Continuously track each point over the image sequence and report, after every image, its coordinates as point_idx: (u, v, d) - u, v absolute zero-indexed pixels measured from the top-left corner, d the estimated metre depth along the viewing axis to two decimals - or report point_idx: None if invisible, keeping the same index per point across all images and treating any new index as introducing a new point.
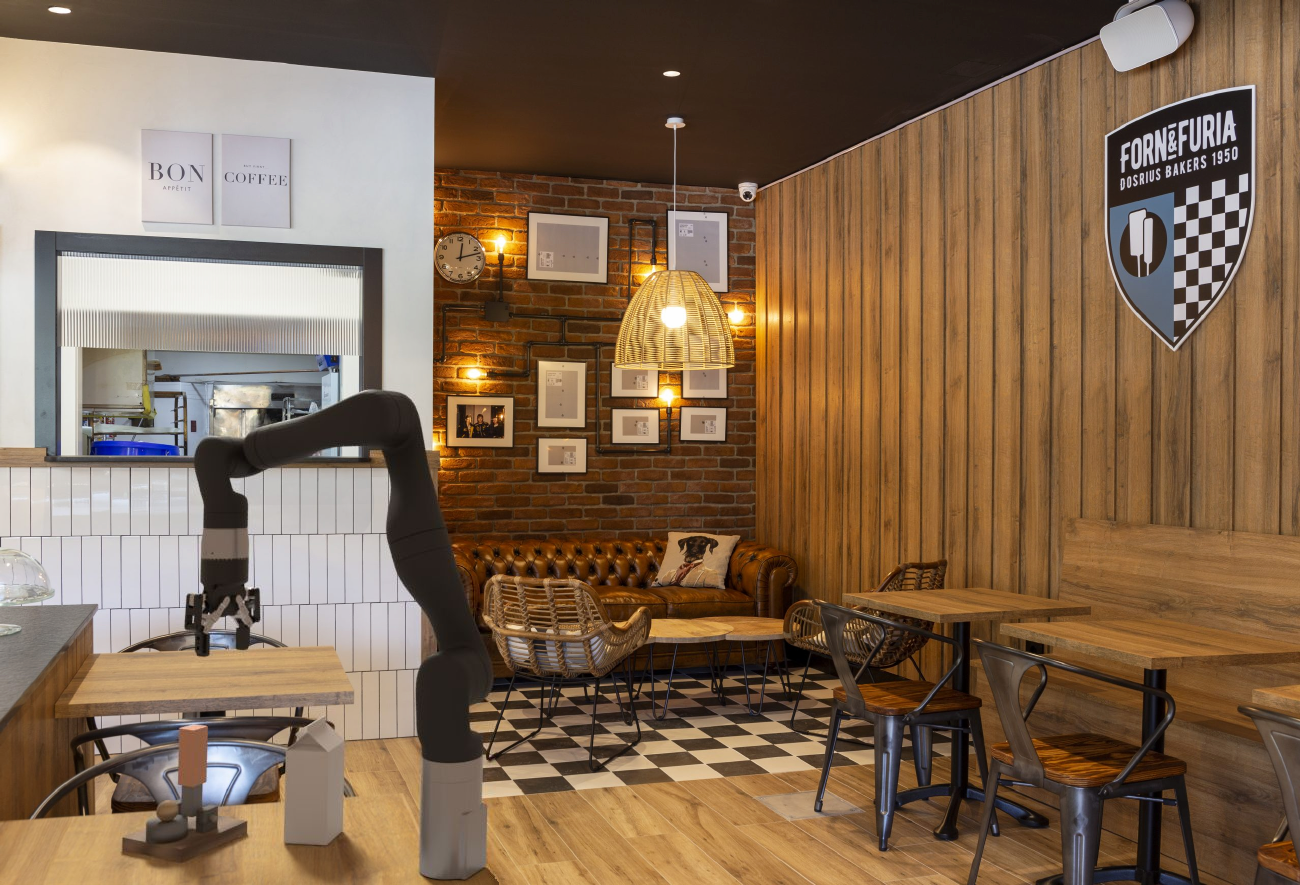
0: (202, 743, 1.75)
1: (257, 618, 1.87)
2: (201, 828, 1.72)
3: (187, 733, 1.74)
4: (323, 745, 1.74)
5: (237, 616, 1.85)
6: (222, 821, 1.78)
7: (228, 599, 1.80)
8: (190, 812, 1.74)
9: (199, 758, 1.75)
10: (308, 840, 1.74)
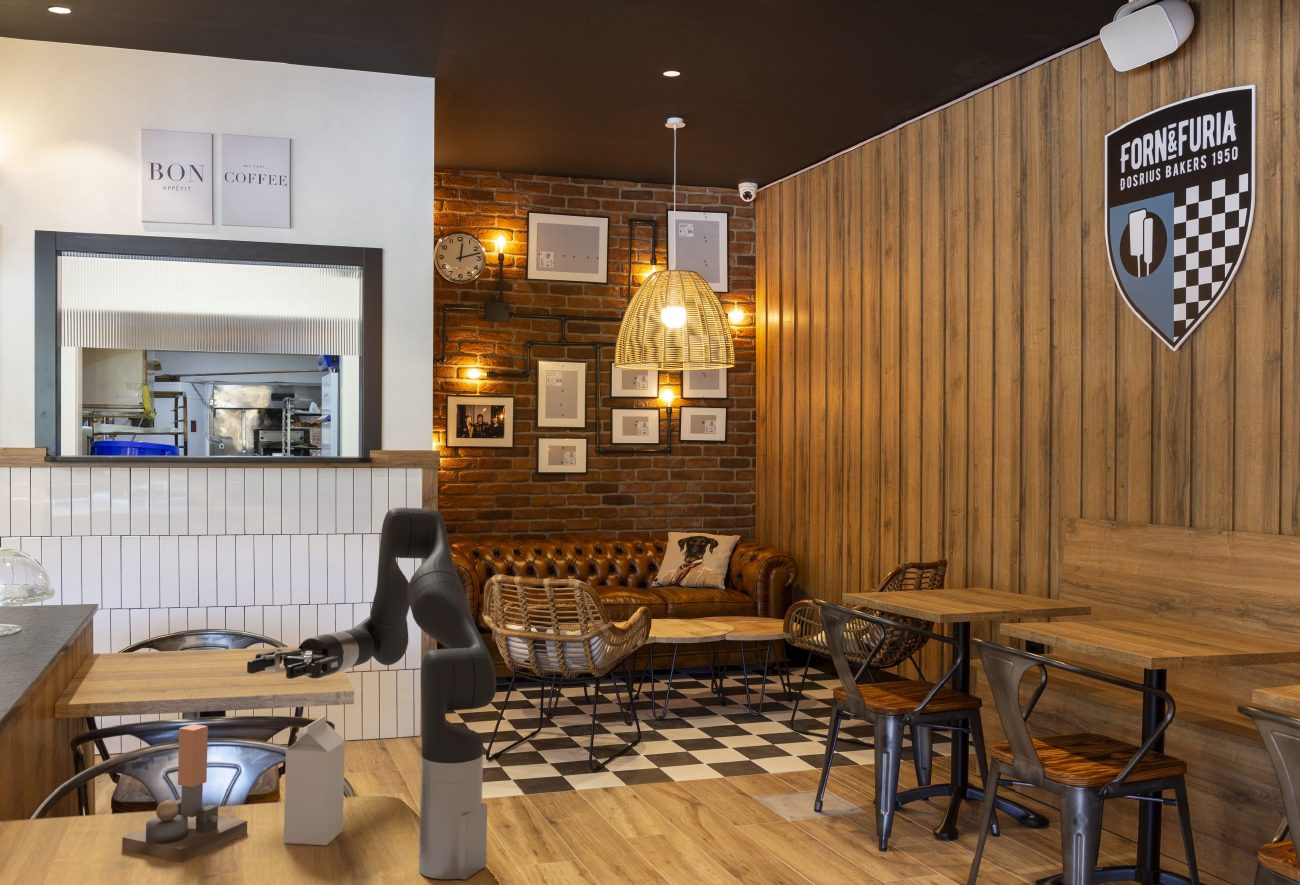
0: (202, 743, 1.75)
1: (317, 661, 1.91)
2: (201, 828, 1.72)
3: (187, 733, 1.74)
4: (323, 745, 1.74)
5: None
6: (222, 821, 1.78)
7: (299, 649, 1.97)
8: (190, 812, 1.74)
9: (199, 758, 1.75)
10: (308, 840, 1.74)
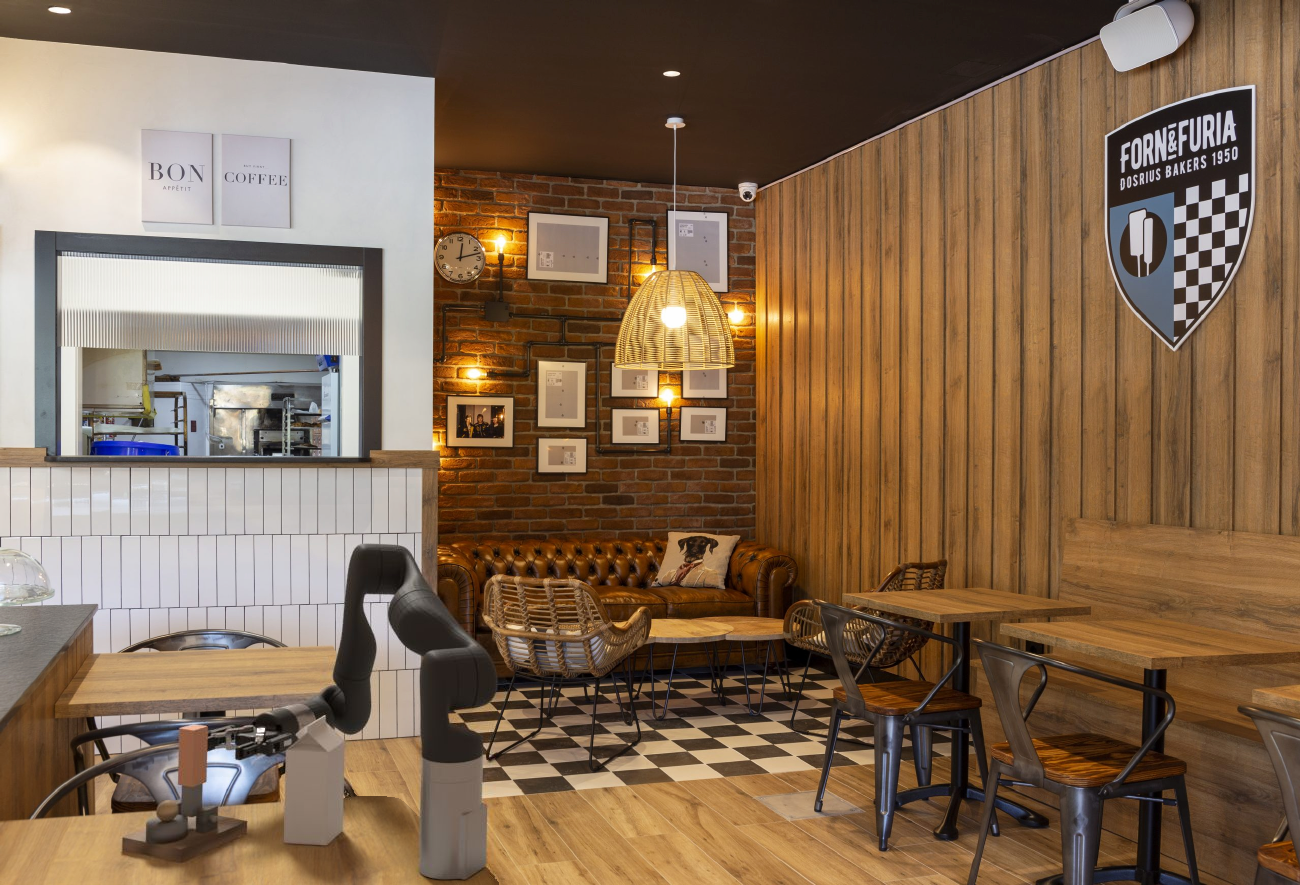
0: (202, 743, 1.75)
1: (269, 740, 1.82)
2: (201, 828, 1.72)
3: (187, 733, 1.74)
4: (323, 745, 1.74)
5: None
6: (222, 821, 1.78)
7: (251, 726, 1.89)
8: (190, 812, 1.74)
9: (199, 758, 1.75)
10: (308, 840, 1.74)
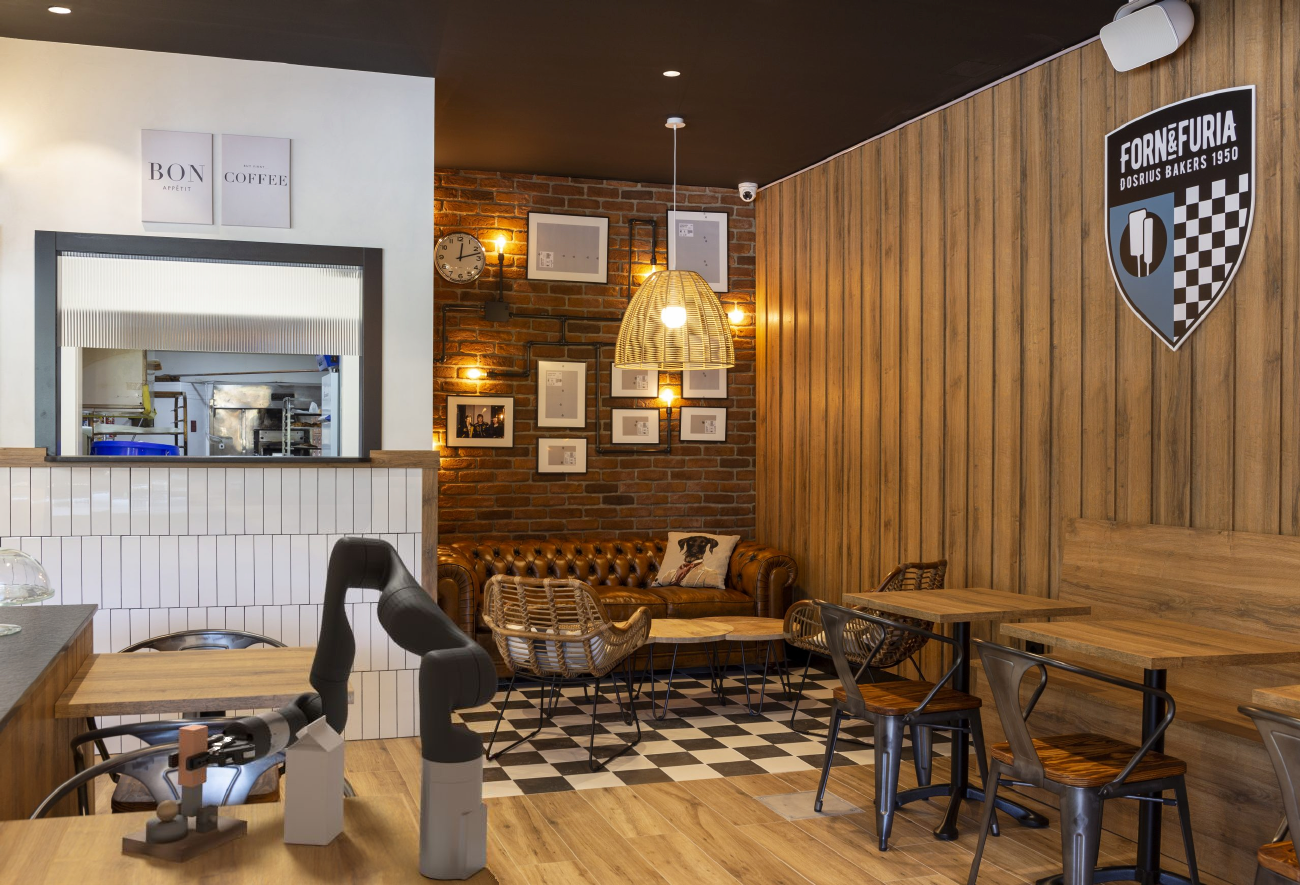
0: (202, 743, 1.75)
1: (222, 749, 1.76)
2: (201, 828, 1.72)
3: (187, 733, 1.74)
4: (323, 745, 1.74)
5: None
6: (222, 821, 1.78)
7: (221, 735, 1.82)
8: (190, 812, 1.74)
9: None
10: (308, 840, 1.74)
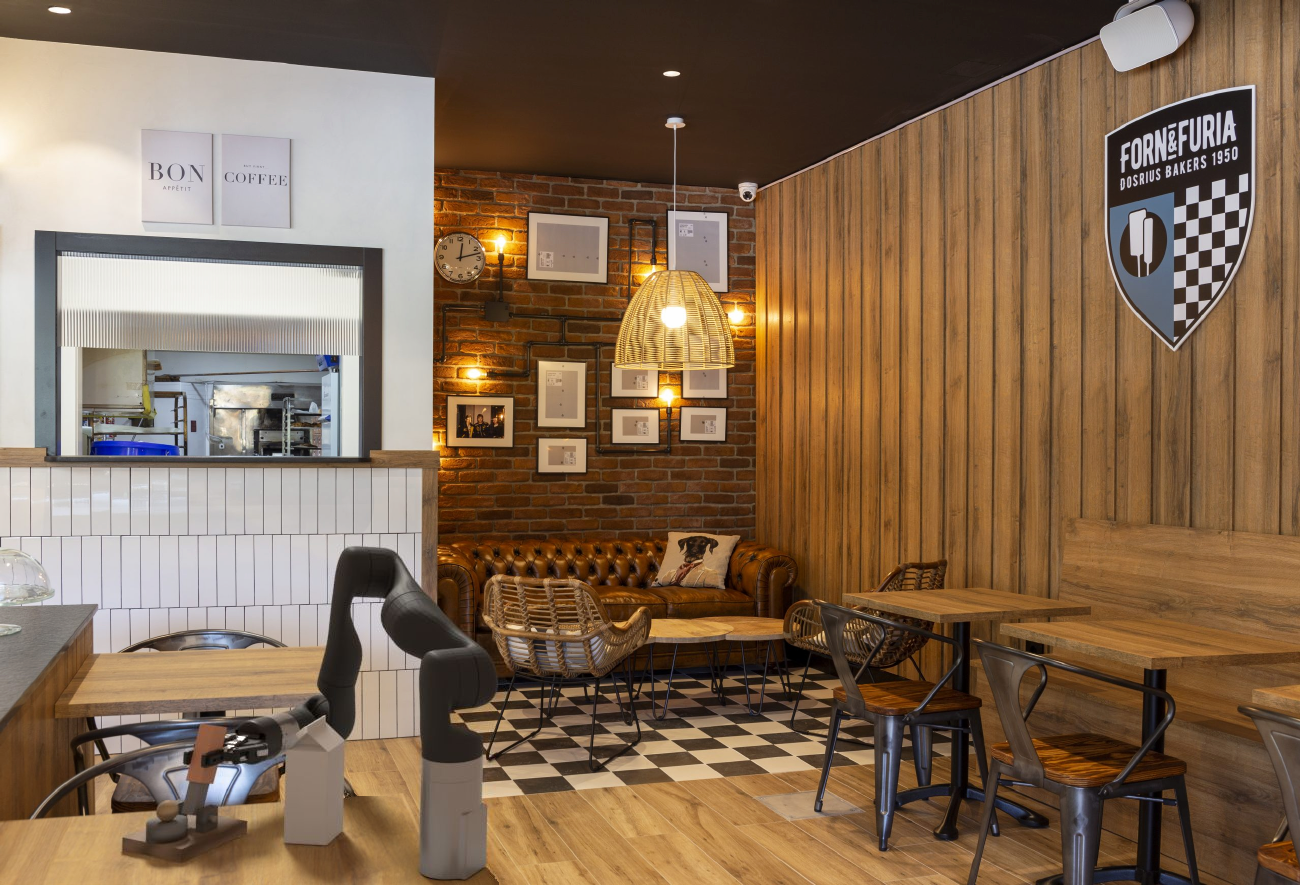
0: (218, 742, 1.78)
1: (236, 747, 1.79)
2: (201, 828, 1.72)
3: (207, 728, 1.78)
4: (323, 745, 1.74)
5: None
6: (222, 821, 1.78)
7: (234, 734, 1.85)
8: (191, 810, 1.74)
9: None
10: (308, 840, 1.74)
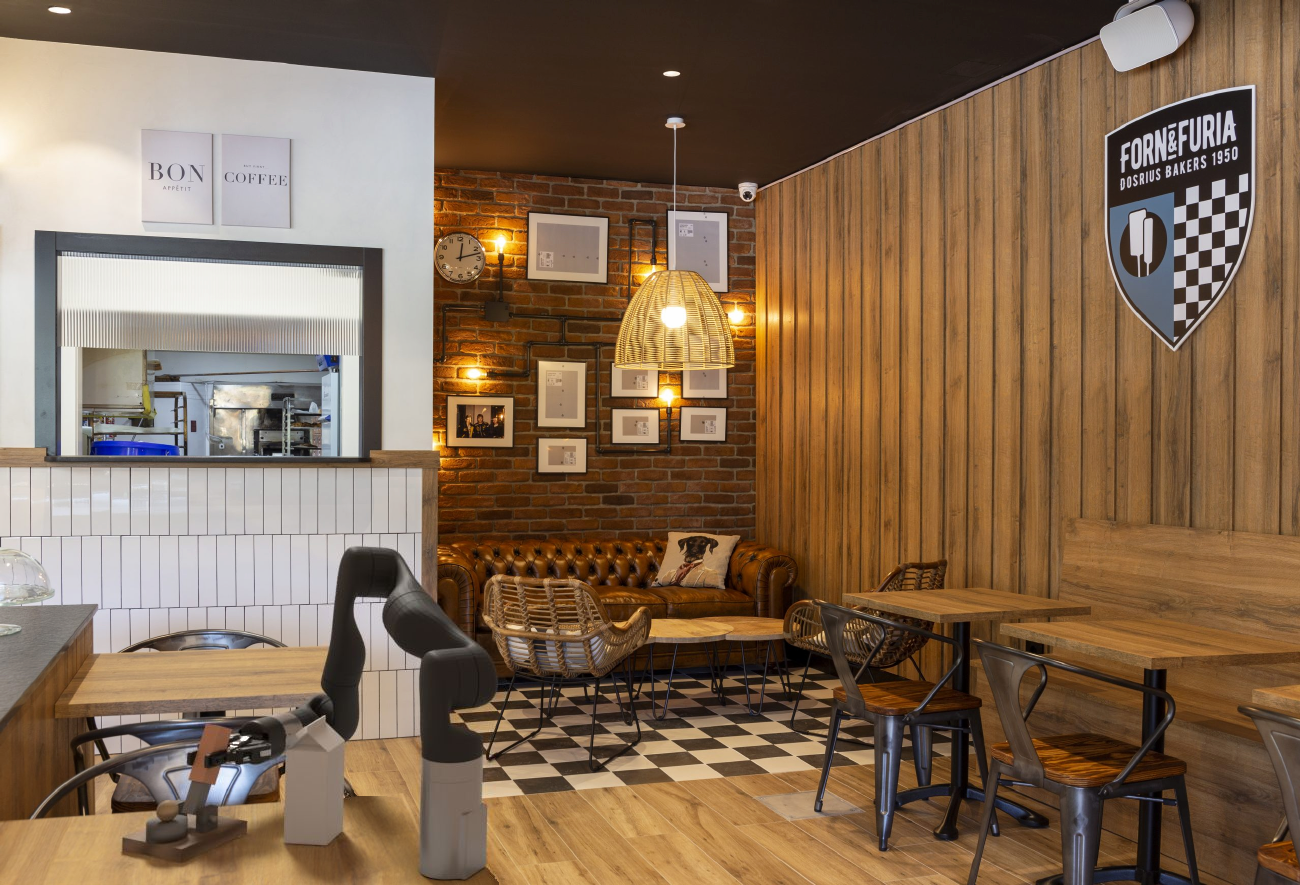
0: (222, 744, 1.79)
1: (239, 748, 1.80)
2: (201, 828, 1.72)
3: (212, 729, 1.79)
4: (323, 745, 1.74)
5: None
6: (222, 821, 1.78)
7: (238, 734, 1.86)
8: (192, 809, 1.74)
9: None
10: (308, 840, 1.74)
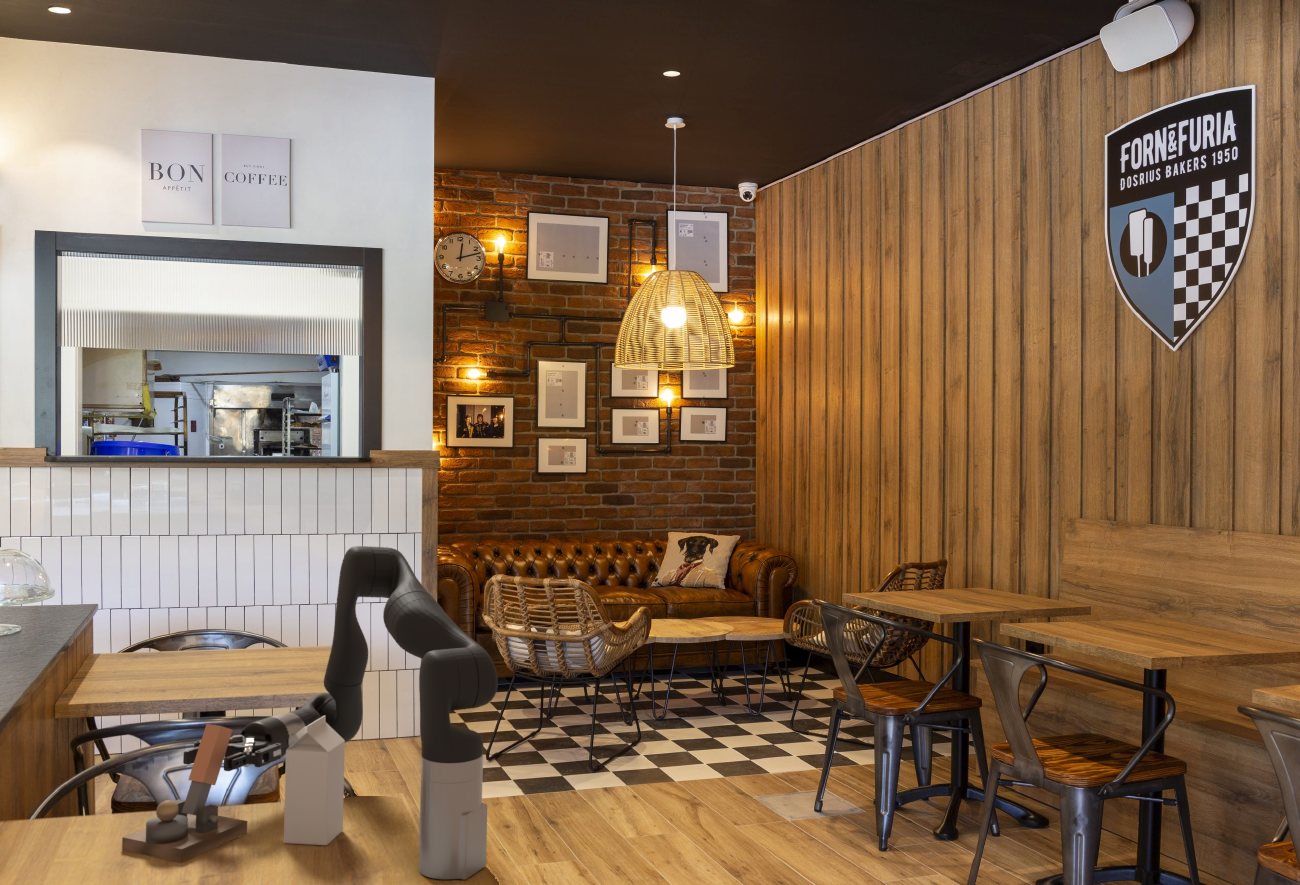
0: (223, 744, 1.79)
1: (258, 750, 1.80)
2: (201, 828, 1.72)
3: (213, 729, 1.79)
4: (323, 745, 1.74)
5: None
6: (222, 821, 1.78)
7: (240, 736, 1.86)
8: (192, 809, 1.74)
9: (216, 757, 1.78)
10: (308, 840, 1.74)
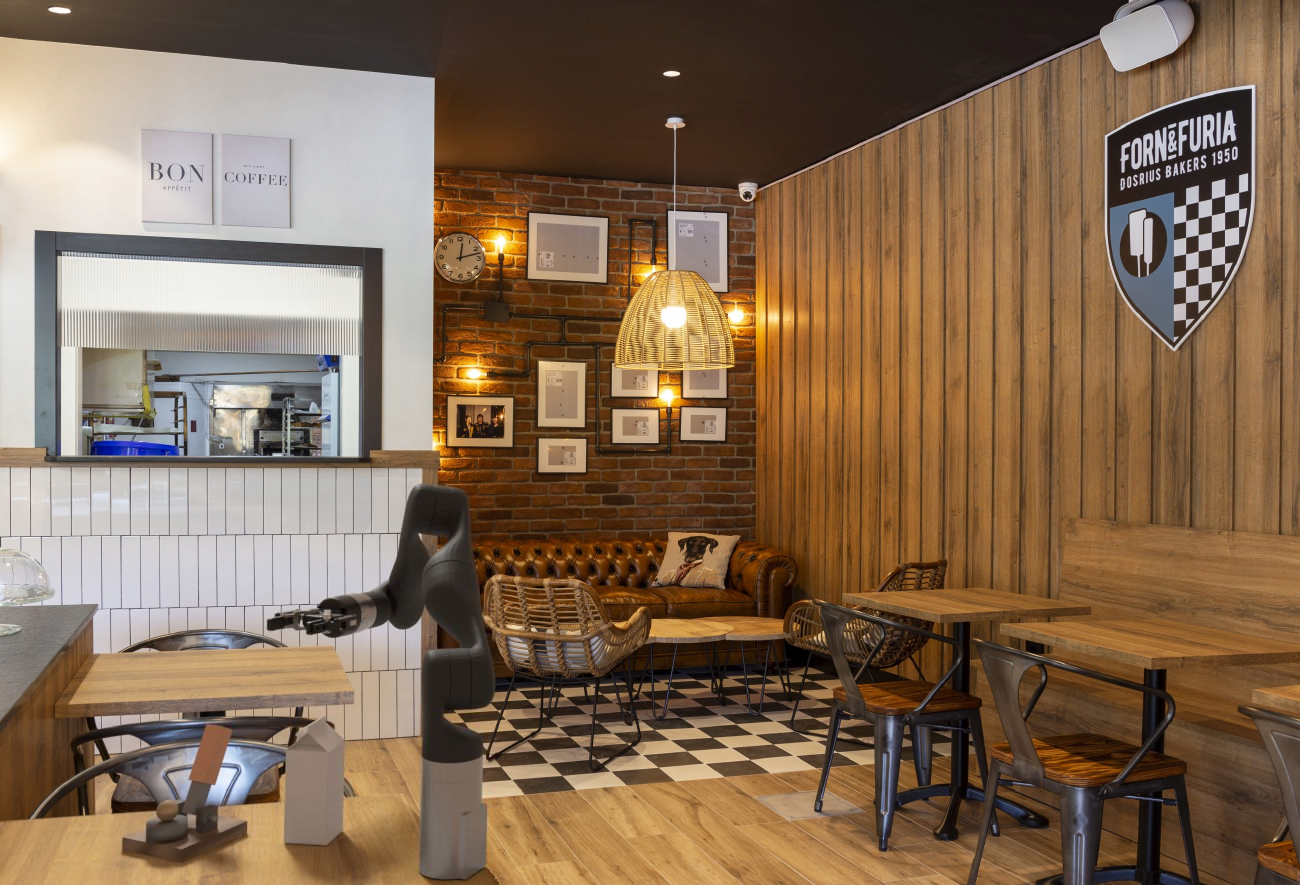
0: (223, 744, 1.79)
1: (336, 618, 1.92)
2: (201, 828, 1.72)
3: (213, 729, 1.79)
4: (323, 745, 1.74)
5: None
6: (222, 821, 1.78)
7: (317, 608, 1.99)
8: (192, 809, 1.74)
9: (216, 757, 1.78)
10: (308, 840, 1.74)
